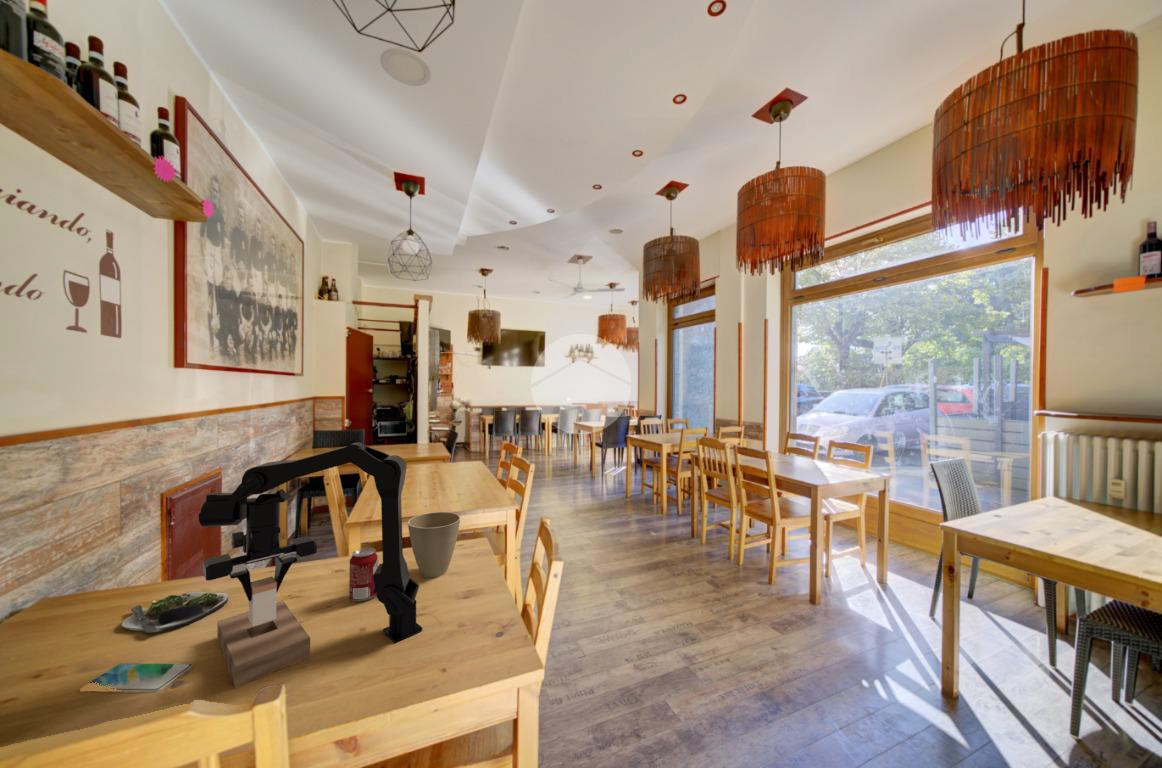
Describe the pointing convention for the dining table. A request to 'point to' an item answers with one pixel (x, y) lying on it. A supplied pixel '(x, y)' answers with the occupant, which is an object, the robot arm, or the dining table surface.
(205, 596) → the salad plate
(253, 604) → the plug
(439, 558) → the plant pot
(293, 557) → the robot arm
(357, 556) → the soda can
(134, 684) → the smartphone
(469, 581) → the dining table surface
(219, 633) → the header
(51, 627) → the dining table surface
